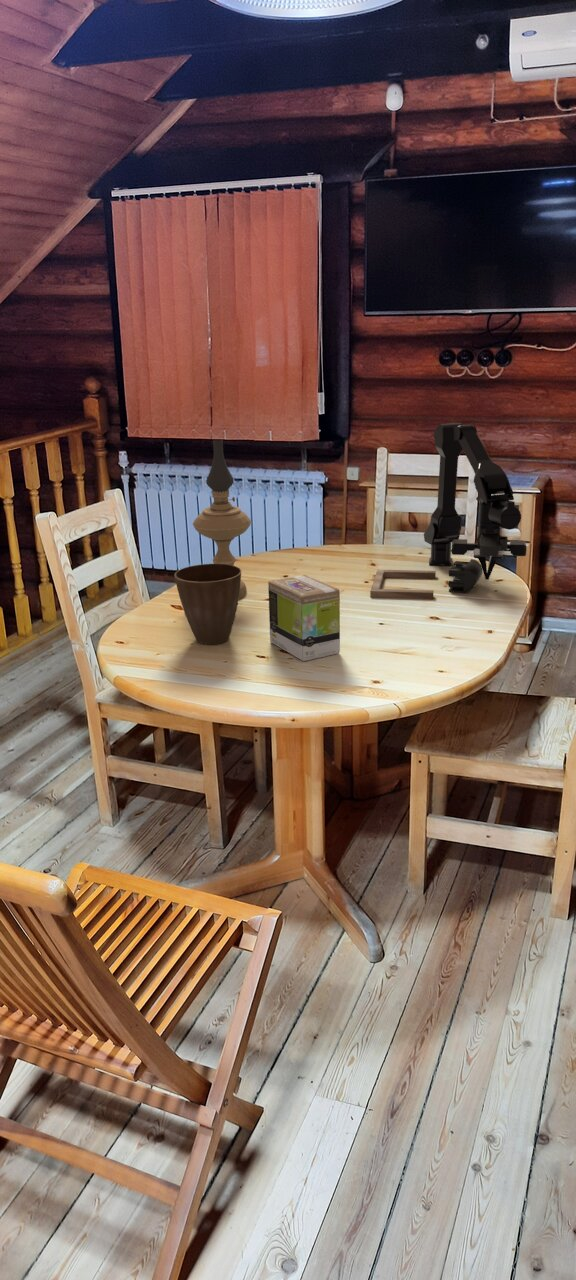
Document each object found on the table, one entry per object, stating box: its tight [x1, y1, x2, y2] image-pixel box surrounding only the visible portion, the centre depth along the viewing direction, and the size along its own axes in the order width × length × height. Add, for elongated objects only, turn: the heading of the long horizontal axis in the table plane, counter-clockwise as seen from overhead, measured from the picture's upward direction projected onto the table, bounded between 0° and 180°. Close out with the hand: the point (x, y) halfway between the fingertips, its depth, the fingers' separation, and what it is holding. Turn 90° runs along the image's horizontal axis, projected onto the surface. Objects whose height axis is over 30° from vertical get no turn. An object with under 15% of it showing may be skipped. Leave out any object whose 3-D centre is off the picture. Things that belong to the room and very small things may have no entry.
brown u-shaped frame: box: [369, 568, 437, 600], centre depth 250 cm, size 20×16×2 cm
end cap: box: [448, 558, 483, 594], centre depth 246 cm, size 10×7×7 cm
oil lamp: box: [192, 439, 252, 599], centre depth 241 cm, size 15×15×40 cm
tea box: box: [267, 574, 341, 662], centre depth 206 cm, size 15×10×15 cm
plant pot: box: [174, 563, 242, 646], centre depth 213 cm, size 15×15×16 cm
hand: (486, 579), depth 245 cm, fingers closed
